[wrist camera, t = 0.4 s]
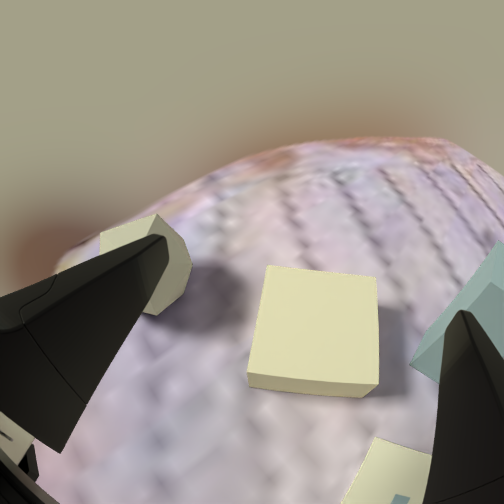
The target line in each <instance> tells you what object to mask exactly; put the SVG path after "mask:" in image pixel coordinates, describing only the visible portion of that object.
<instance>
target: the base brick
mask: <svg viewBox="0 0 504 504" xmlns="http://www.w3.org/2000/svg"><path fill="white" fill-rule="evenodd" d="M247 377H248V383H249V387H254V388H261V389H268V390H275V391H283V392H292V393H301V394H311V395H323V396H336V397H354V398H362V397H364V396H365V395H366V394H367V393H369V392H370V391H371V390H372V389H374V388H375V387H376V386H377V385H378V384H379V328H378V304H377V288H376V277H368V276H359V275H350V274H341V273H332V272H323V271H314V270H305V269H297V268H288V267H279V266H271V265H267V269H266V274H265V279H264V285H263V290H262V295H261V301H260V306H259V311H258V316H257V322H256V327H255V332H254V337H253V342H252V347H251V353H250V358H249V363H248V368H247Z"/></svg>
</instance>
